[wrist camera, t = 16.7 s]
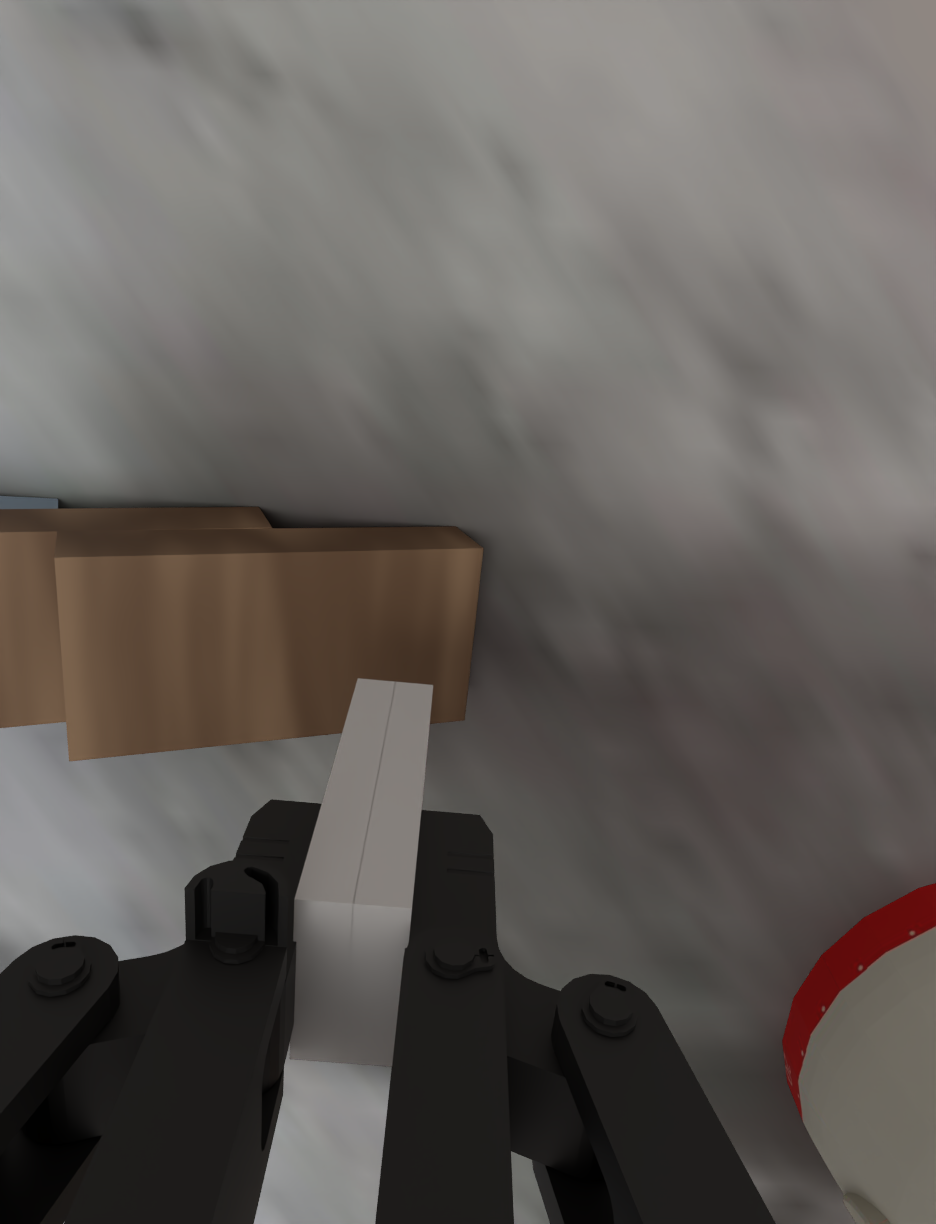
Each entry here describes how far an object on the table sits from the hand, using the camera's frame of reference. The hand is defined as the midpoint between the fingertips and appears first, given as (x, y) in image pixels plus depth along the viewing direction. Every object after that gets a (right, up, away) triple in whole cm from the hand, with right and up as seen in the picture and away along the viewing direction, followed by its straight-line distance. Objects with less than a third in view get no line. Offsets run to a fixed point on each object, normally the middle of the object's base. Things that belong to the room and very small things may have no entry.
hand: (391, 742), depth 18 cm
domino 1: (+1, +2, +7) cm, 7 cm away
